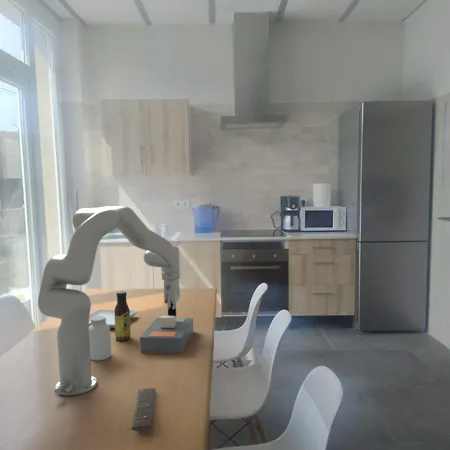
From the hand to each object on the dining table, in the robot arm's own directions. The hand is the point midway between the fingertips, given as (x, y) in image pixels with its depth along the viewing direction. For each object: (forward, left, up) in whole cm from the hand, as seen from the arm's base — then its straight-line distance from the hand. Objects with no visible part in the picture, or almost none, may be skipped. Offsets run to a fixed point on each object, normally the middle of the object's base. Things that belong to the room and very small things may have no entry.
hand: (172, 317), depth 183 cm
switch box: (-7, 0, -8) cm, 11 cm away
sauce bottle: (-5, +20, -8) cm, 22 cm away
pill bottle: (-24, +22, -8) cm, 34 cm away
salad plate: (+16, +35, -8) cm, 39 cm away
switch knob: (-7, 0, -1) cm, 7 cm away
